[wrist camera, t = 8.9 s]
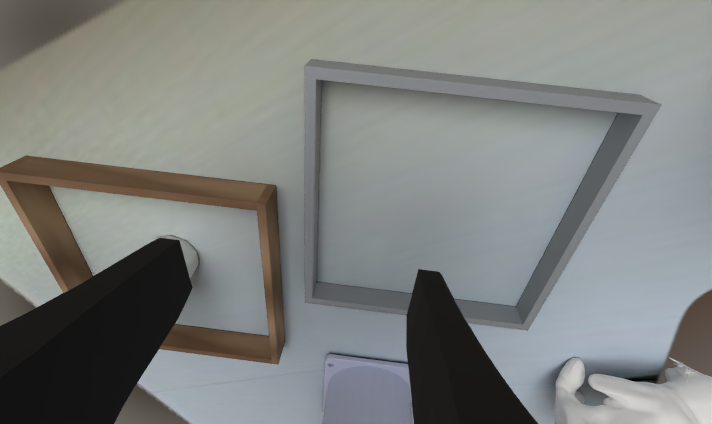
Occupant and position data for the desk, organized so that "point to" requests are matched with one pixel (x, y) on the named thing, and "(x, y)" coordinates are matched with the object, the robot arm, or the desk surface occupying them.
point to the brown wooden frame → (59, 247)
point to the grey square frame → (608, 160)
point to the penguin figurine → (634, 398)
